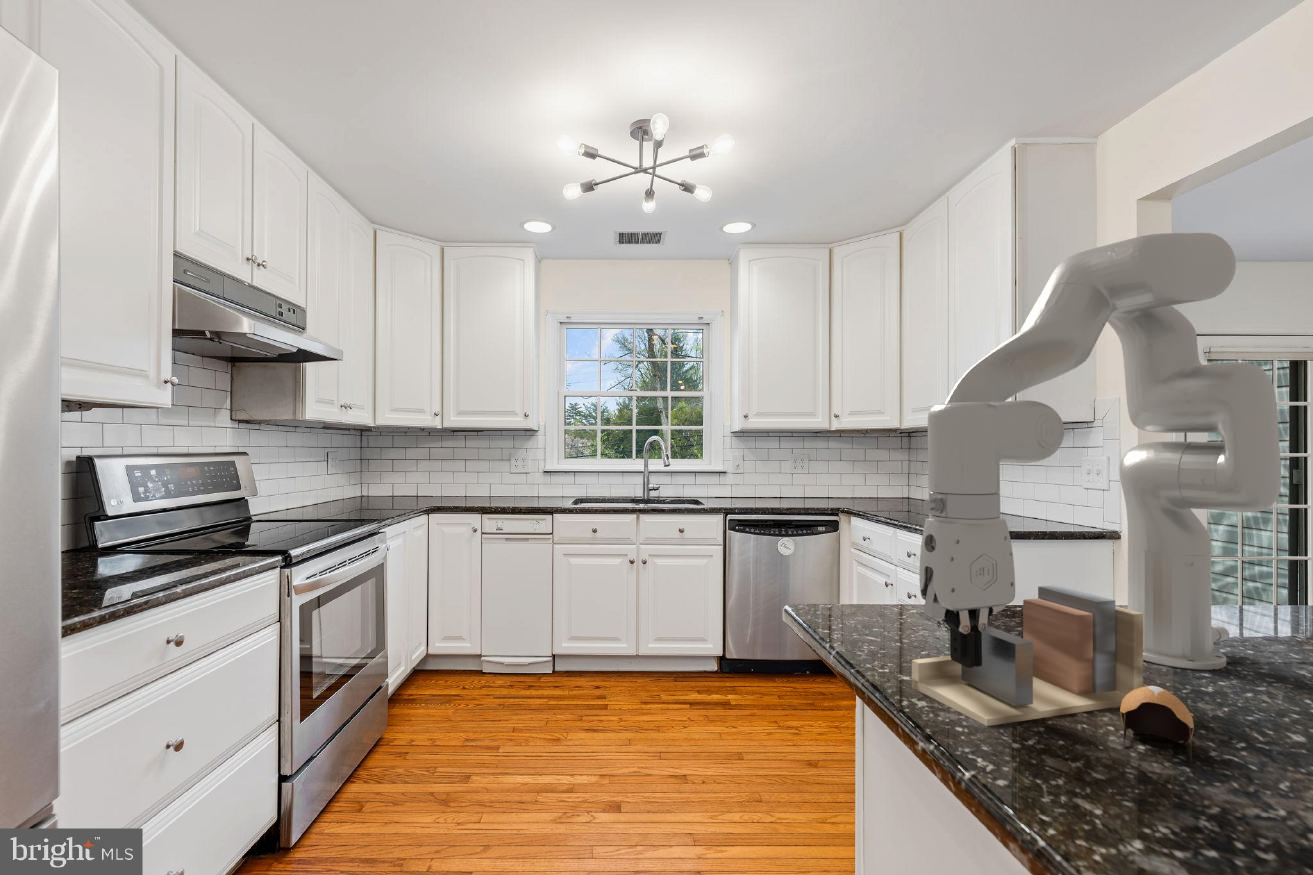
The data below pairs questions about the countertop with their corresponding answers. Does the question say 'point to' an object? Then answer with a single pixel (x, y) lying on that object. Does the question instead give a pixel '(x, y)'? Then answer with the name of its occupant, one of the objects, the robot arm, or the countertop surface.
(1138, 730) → the helmet
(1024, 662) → the bookend
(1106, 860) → the countertop surface
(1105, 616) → the book rack
